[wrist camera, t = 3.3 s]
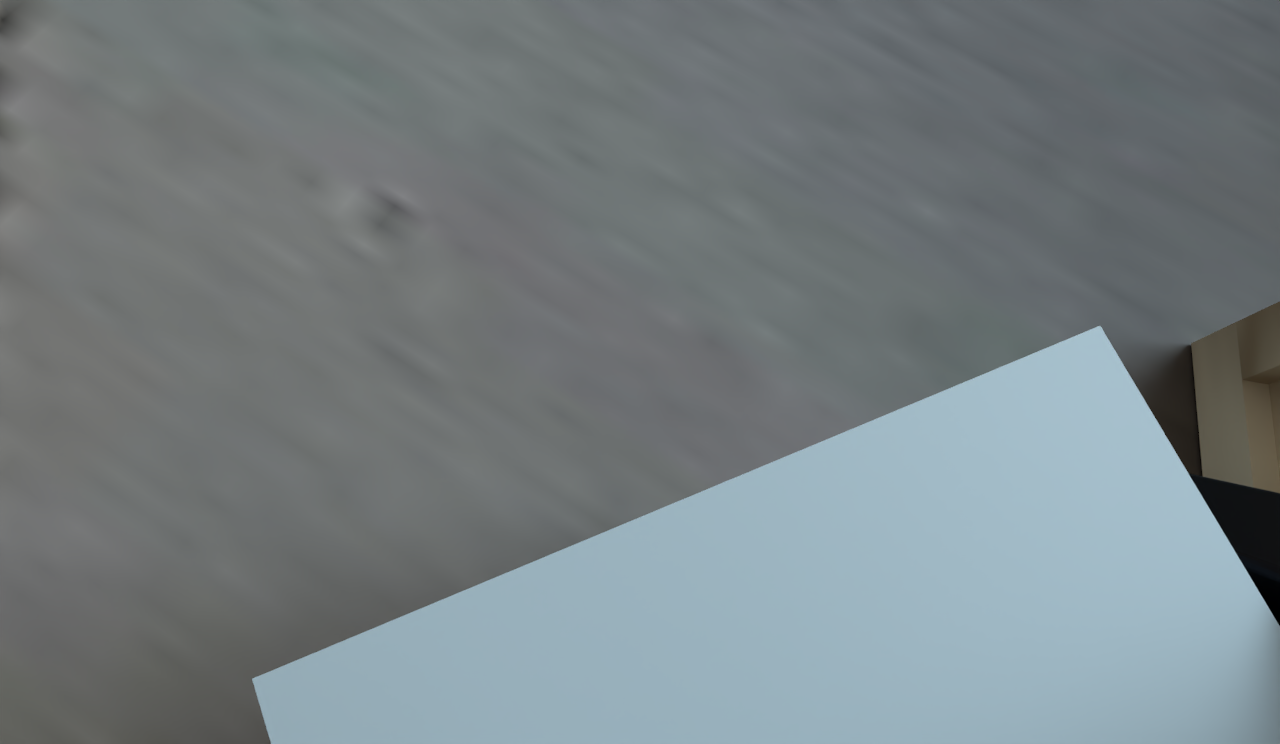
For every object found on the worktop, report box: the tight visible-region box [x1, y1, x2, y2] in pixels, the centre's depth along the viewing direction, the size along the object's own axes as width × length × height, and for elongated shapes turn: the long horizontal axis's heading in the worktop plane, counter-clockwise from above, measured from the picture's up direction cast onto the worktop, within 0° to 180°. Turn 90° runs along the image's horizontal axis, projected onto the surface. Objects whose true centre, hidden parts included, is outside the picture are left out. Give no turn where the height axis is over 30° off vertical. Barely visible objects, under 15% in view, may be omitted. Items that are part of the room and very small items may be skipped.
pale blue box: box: [252, 326, 1280, 744], centre depth 10 cm, size 4×6×10 cm, turn 113°
